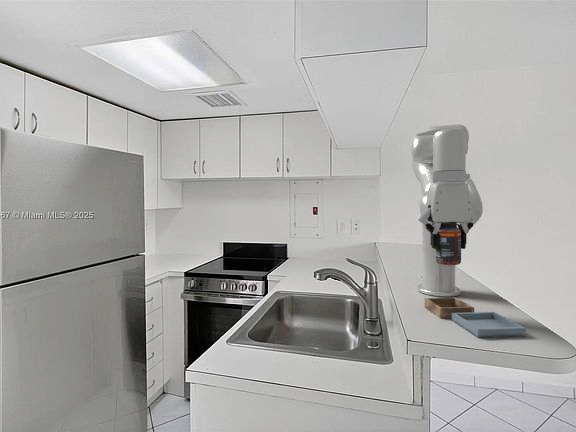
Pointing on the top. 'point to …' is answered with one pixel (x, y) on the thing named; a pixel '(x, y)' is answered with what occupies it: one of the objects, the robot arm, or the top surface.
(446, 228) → the supplement bottle
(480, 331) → the tray
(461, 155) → the robot arm
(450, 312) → the holder
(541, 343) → the top surface
